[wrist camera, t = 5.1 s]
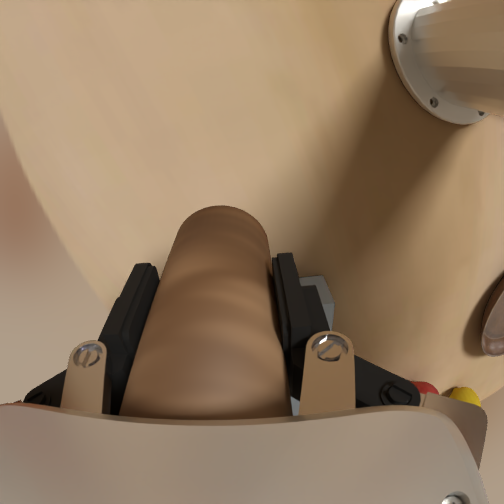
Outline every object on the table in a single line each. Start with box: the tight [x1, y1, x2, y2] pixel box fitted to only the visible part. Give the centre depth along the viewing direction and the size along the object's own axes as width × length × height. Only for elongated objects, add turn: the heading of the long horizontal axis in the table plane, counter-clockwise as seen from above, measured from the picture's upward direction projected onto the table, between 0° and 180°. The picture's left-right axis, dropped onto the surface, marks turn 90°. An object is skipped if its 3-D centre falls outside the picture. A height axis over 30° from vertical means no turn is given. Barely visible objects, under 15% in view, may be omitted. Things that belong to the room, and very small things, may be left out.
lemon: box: [449, 387, 481, 407], centre depth 37 cm, size 6×6×8 cm
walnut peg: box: [119, 206, 293, 420], centre depth 11 cm, size 4×4×10 cm
